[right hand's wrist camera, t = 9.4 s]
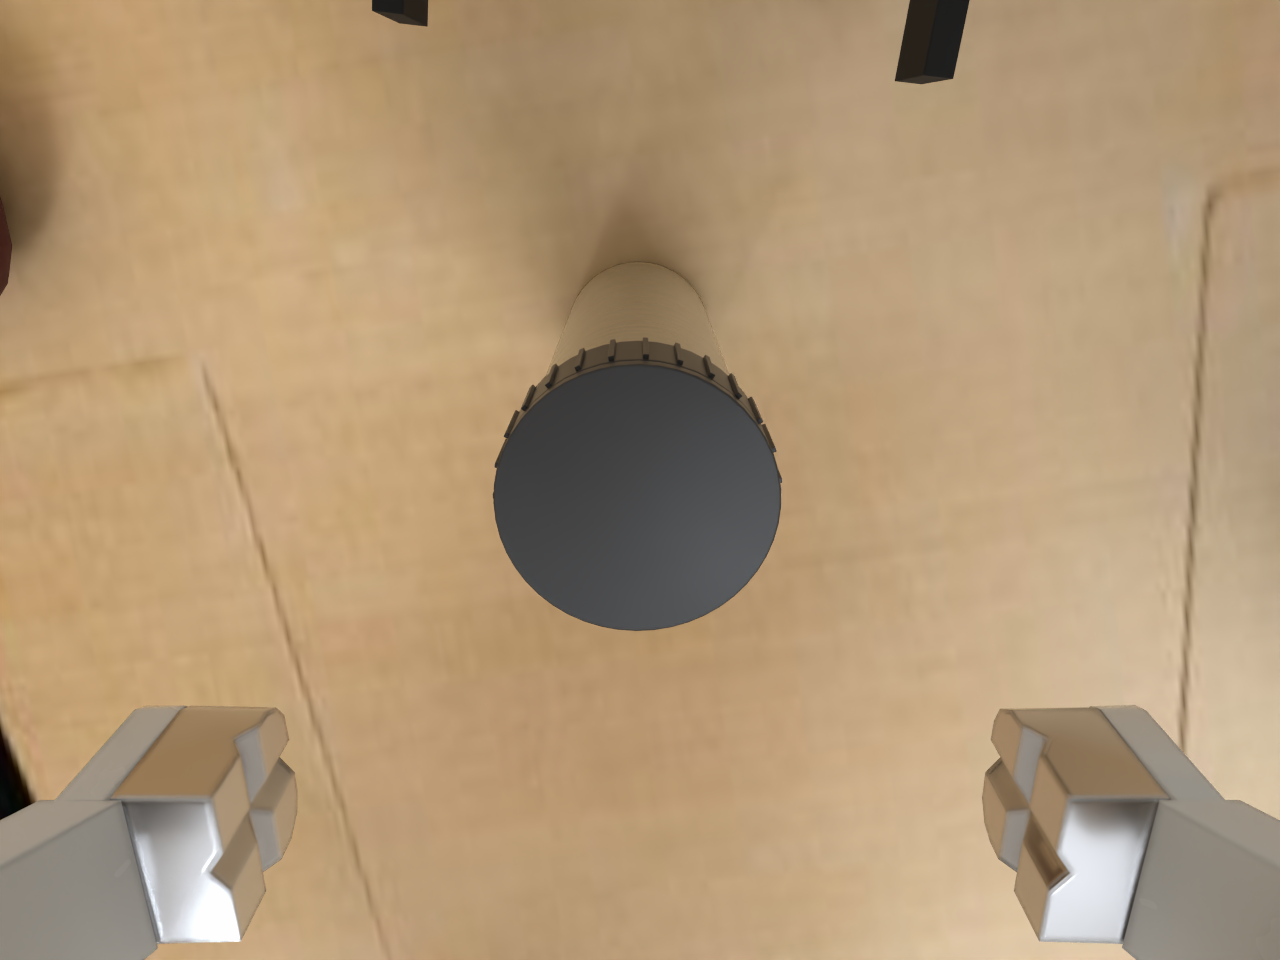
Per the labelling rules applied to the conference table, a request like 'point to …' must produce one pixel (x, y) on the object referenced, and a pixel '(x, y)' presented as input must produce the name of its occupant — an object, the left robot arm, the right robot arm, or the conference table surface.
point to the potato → (4, 250)
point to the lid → (637, 486)
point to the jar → (638, 313)
